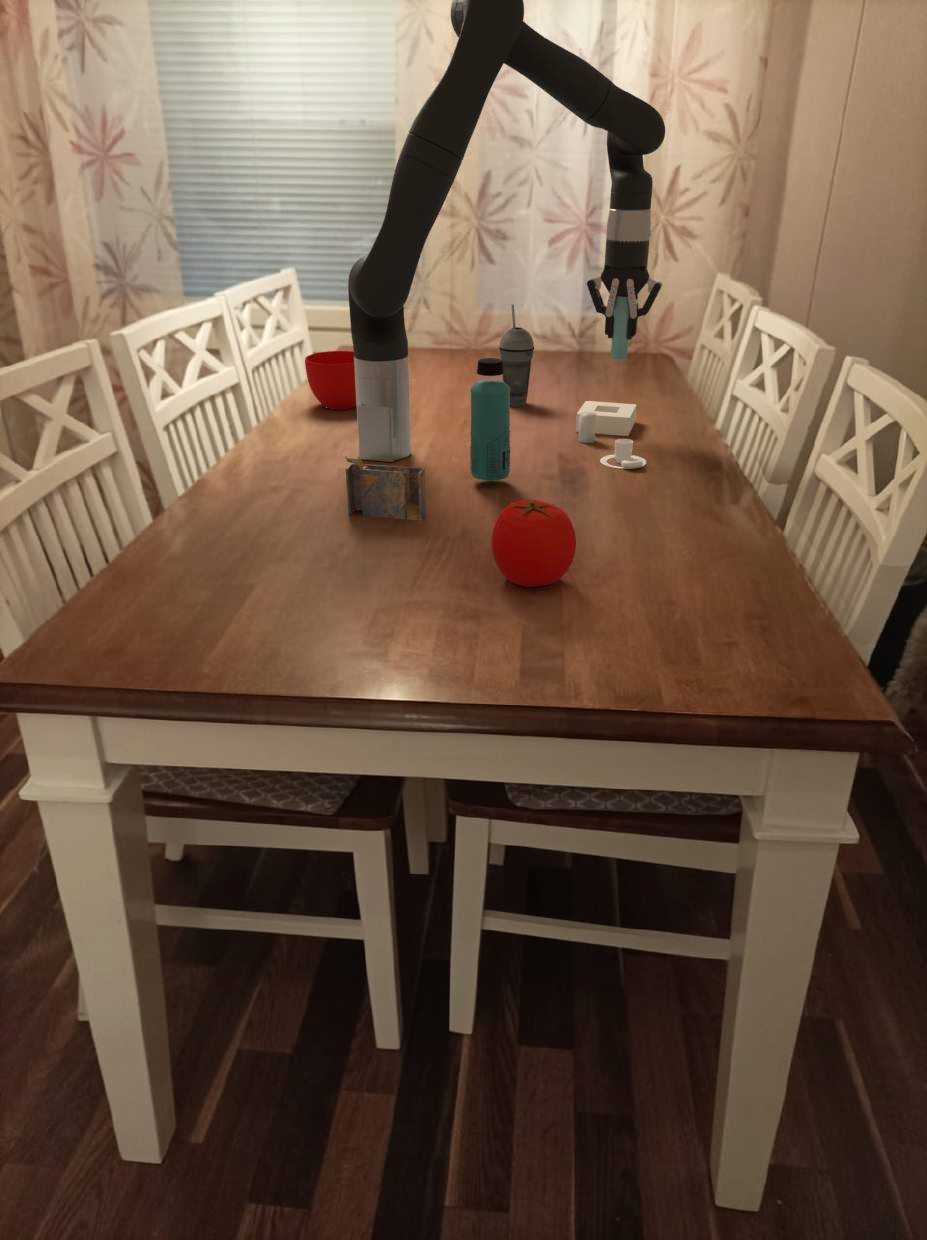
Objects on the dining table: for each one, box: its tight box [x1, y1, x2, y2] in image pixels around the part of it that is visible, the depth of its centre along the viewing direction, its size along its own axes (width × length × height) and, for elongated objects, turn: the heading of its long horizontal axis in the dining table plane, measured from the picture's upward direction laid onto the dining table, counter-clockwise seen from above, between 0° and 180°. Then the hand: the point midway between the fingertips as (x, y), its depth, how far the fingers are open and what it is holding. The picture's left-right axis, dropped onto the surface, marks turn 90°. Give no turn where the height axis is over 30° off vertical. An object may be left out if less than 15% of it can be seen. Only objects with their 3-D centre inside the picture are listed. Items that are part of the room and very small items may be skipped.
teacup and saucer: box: [599, 438, 647, 470], centre depth 166 cm, size 9×8×4 cm
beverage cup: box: [498, 304, 535, 408], centre depth 197 cm, size 7×7×20 cm
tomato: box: [491, 499, 577, 588], centre depth 121 cm, size 10×11×11 cm
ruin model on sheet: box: [345, 456, 427, 521], centre depth 142 cm, size 11×3×10 cm, turn 78°
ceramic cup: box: [304, 350, 357, 411], centre depth 198 cm, size 13×17×10 cm
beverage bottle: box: [469, 357, 512, 482], centre depth 152 cm, size 6×7×20 cm
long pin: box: [610, 296, 630, 361], centre depth 174 cm, size 3×3×11 cm
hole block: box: [575, 400, 637, 437], centre depth 185 cm, size 10×10×4 cm
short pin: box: [578, 412, 596, 444], centre depth 177 cm, size 3×3×5 cm
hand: (620, 337), depth 175 cm, fingers closed on long pin, 3 cm apart
